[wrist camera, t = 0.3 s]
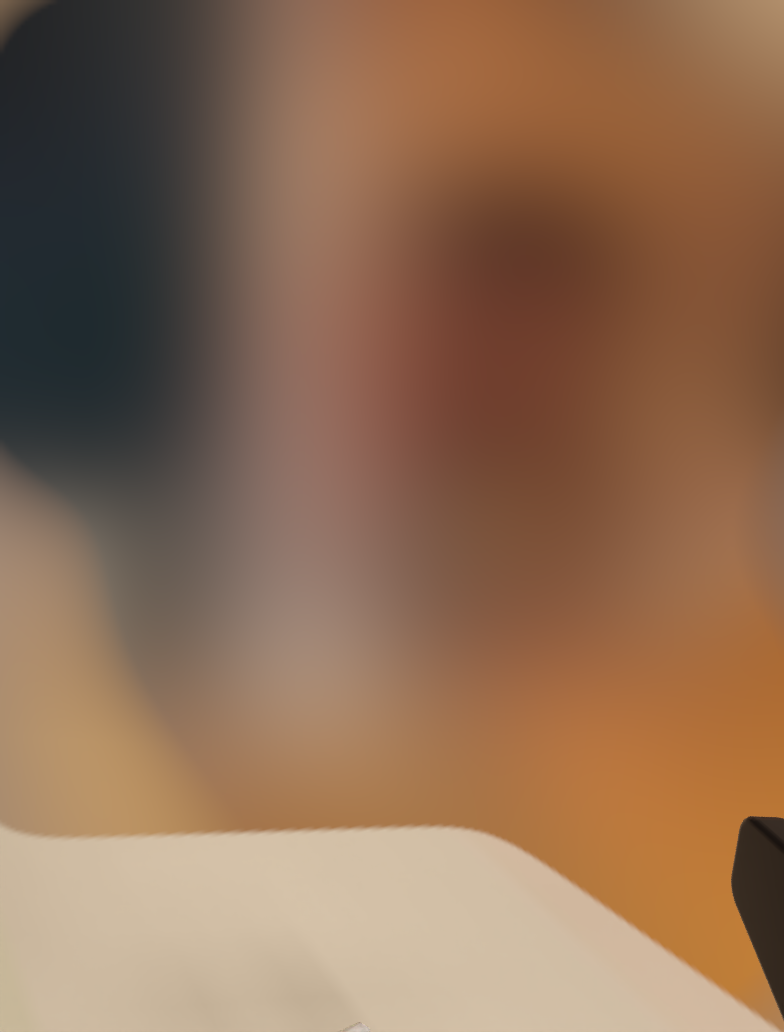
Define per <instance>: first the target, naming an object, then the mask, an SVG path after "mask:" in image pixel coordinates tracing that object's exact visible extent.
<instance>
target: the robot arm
mask: <svg viewBox="0 0 784 1032" xmlns="http://www.w3.org/2000/svg"><path fill="white" fill-rule="evenodd" d="M731 884H732V885H731V886H732V893H733V897H734V901H735V903H736V906H737V908H738V911H739V913H740V916H741V918H742V921H743V923H744V925H745V928H746V930H747V933H748V935H749V937H750V940H751V942H752V945H753V947H754V949H755V952H756V954H757V957H758V959H759V962H760V964H761V967H762V969H763V971H764V974H765V976H766V979H767V981H768V984H769V986H770V988H771V991H772V993H773V996H774V998H775V1001H776V1003H777V1005H778V1008H779V1010H780V1013H781V1015H782V1017H783V1020H784V819H783V818H777V817H754V816H750V817H748V818H746V819H744V820H743V822H742V824H741V826H740V830H739V836H738V841H737V847H736V854H735V859H734V865H733V871H732V879H731Z"/></svg>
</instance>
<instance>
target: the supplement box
mask: <svg viewBox="0 0 784 1032" xmlns="http://www.w3.org/2000/svg"><path fill="white" fill-rule="evenodd" d="M339 1032H371V1031H370V1029H369V1027H368V1026H366V1025H364V1024H362V1023H360V1022H358V1023H356V1024H354V1025H352V1026H350V1027H347V1028H345V1029H343V1030H341V1031H339Z"/></svg>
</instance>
